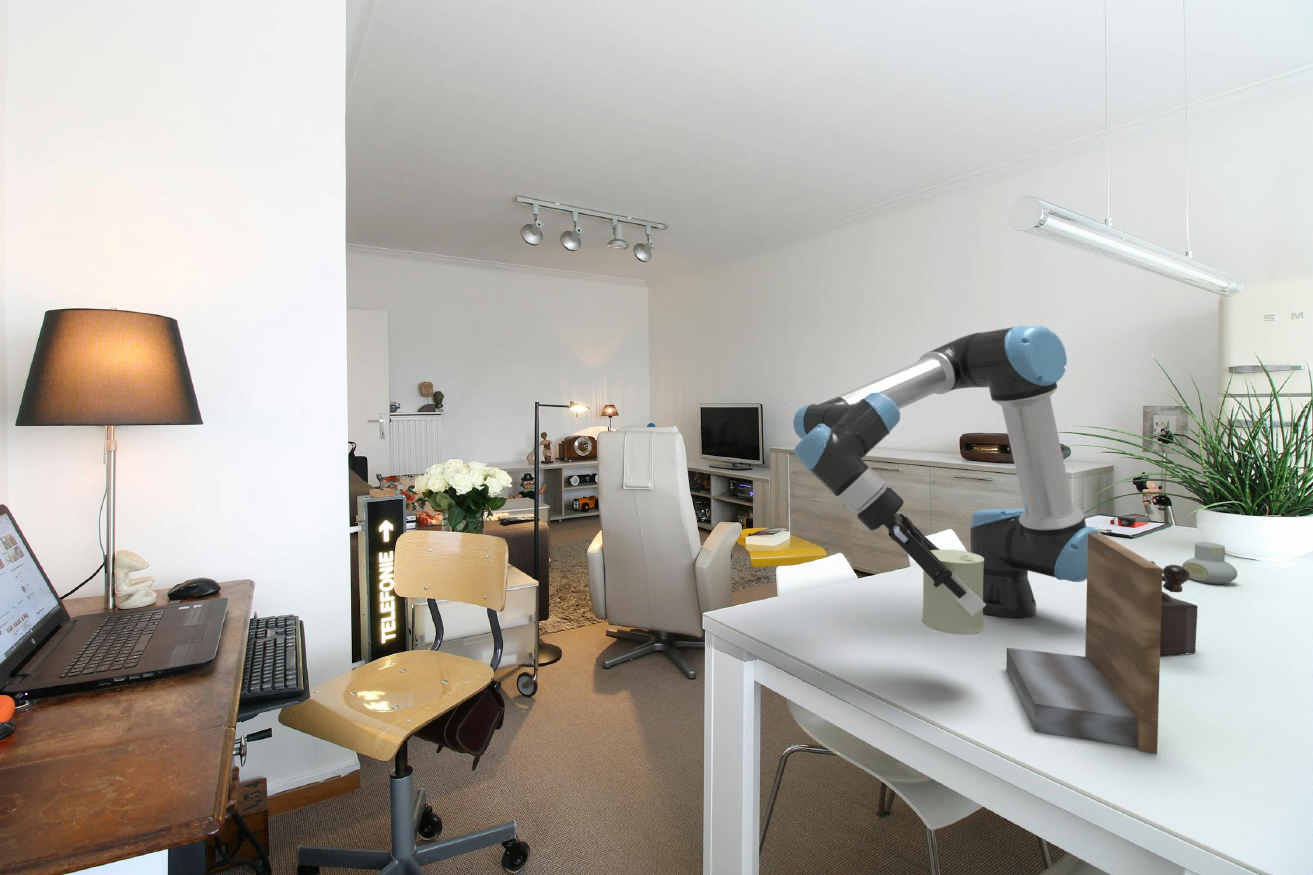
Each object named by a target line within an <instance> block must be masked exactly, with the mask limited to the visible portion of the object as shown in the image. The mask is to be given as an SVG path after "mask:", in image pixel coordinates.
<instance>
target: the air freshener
mask: <svg viewBox="0 0 1313 875" xmlns="http://www.w3.org/2000/svg"><path fill="white" fill-rule="evenodd" d="M1225 554H1226V547H1225V546H1224V544H1220V543H1214V542H1205V541H1202V542H1200V541H1199V542H1196V543H1195V544H1194V557H1192V558H1189V559H1187V560H1185V561H1184V562H1183V563H1182V565H1181V567H1183V568H1185V569H1186V570H1187V571H1188V572H1189V574H1190V578H1189V579H1192V580H1194V582H1198V583H1203V584H1208V583H1209V584H1208V585H1210V584H1211V585H1224V584H1228V583H1230V582H1231V583H1232V582H1233V581H1234V580H1236V579H1237V577H1238V570H1237V569H1236V567H1234V565H1233V564H1230V563H1229V562H1227V561H1225V560H1226V558H1225V557H1226V556H1225Z"/></svg>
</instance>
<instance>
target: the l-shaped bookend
mask: <svg viewBox="0 0 1313 875" xmlns="http://www.w3.org/2000/svg"><path fill="white" fill-rule="evenodd" d="M1150 561H1151V560H1149V559H1146V558H1144V557H1143V556H1141V555H1139V554H1138V553H1136V552H1134V551H1132V550H1131V549H1129V548H1127V547H1125V546H1123V545H1122V544H1120V543H1118V542H1117V541H1115V540H1114V539H1112V538H1110V537H1108V536H1106V535H1104V534H1103V533H1101V534H1090V533H1088V559H1087V579H1086V603H1085V604H1086V607H1085V608H1086V610H1085V614H1086V615H1085V647H1084V650H1085V652H1084V655H1085V656H1081V655H1073V654H1067V653H1066V654H1065V653H1058V652H1057V653H1056V652H1047V651H1039V650H1038V651H1036V650H1029V649H1021V648H1014V647H1013V648H1012V647H1006V673H1007V674H1008V677H1009V678H1010V680H1011V683H1012V685H1013V687H1014V690H1015V692H1016V694H1017V696H1018V698H1019V700H1020V702H1021V705H1022V706H1023V709H1024V711H1025V713H1026V716H1027V717H1028V719H1029V722H1030V724H1031V727H1032V728H1033V730H1034V732H1039V733H1045V734H1052V735H1057V736H1062V737H1063V736H1065V737H1070V738H1071V737H1072V738H1076V739H1077V738H1078V739H1085V740H1089V741H1090V740H1091V741H1097V742H1103V743H1109V744H1116V745H1123V746H1128V747H1129V746H1130V747H1134V748H1137V750H1138V751H1139V752H1144V753H1145V752H1146V753H1150V754H1151V753H1152V754H1158V744H1159V743H1158V737H1159V736H1158V735H1159V707H1160V706H1159V702H1160V699H1159V698H1160V668H1161V667H1160V666H1161V663H1160V662H1161V656H1160V640H1161V605H1162V592H1163V581H1162V575H1163V573H1162V571H1163V569H1164V568H1162V567H1160V566H1159V565H1157V564H1156V563H1155V564H1156V565H1155V564H1153V563H1152V562H1150Z"/></svg>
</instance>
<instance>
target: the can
mask: <svg viewBox="0 0 1313 875" xmlns="http://www.w3.org/2000/svg"><path fill="white" fill-rule="evenodd" d="M930 551H931V552H932V553H933V554H934V555H935V556H936V557H937V558H938V559H939V560H940V561H941V563H942V564H943V565H944V566H945V567H946V568H947V569H948V570H950V571H951V572H952V573H954V574H955V575H956V576H957V577H958V578H959V579H960V580H961V581H962V582H963V583H964V584H965V585H966V586H967V587H968V588H969V589H970V590H971V591H973V592H974V593H975V594H976V595H977V596H978V597H979V598H980V599H981V600H982V601H983V567H984V558H983V557H982V556H980V555H977V554H974V553H971V551H962V550H956V549H955V550H954V549H940V550H930ZM922 570H923V569H922ZM940 572H941V571H939V572H938V573H937V574H939V573H940ZM937 574H936V575H937ZM922 575H923V580H922V581H923V582H922V583H923V584H922V586H923V588H922V589H923V591H922V592H923V594H922V599H923V600H922V601H923V602H922V603H923V604H922V618H921V621H922V624H923V625H924V626H925V627H928V628H929V629H932V630H934V631H937V632H941V633H946V634H952V635H961V636H966V635H967V636H969V635H977V634H980V633H982V632H983V631H984V630H985V626H984V613H983V608H982V609H981V610H980V611H978V612H977V613H976V614H974V615H973V616H971V615H970V614H969V613H968V612H967V611H966V610H965V609H964V608H963V607H962V606H961V605H960V604H959V603H958V602H957V601H956V600H955V599H954V598H953V597H952V596H951V595H950V594H949V593H948V592H947V591H946V590H945V589H944V588H943V587H942V586H941V585H940V586H938V587H937V588H936V587H935V586H934V585H933V584H934V583H935V582H934V580H933V579H932V578H931V577H930V576H929V575H928V574H927V573H926V572H925V571H924V570H923V574H922Z"/></svg>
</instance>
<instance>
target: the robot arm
mask: <svg viewBox="0 0 1313 875" xmlns="http://www.w3.org/2000/svg"><path fill="white" fill-rule="evenodd" d="M1067 362H1068V359H1067V352H1066V349H1065V346H1064V344H1063V341H1062V340H1061V339H1060V337H1059V336H1058V335H1057V334H1056V332H1054V331H1052V330H1051V329H1049V328H1048V327H1045V326H1042V325H1028V326H1027V325H1019V326H1012V327H1007V328H1001V329H995V330H989V331H983V332H976V333H970V334H967V335H964V336H962V337H959V338H957V339H954V340H952V341H950V342H947V343H946V344H942V345H941V346H939V347H937V348H935V349H934V348H933V349H932V350H931V351H928V352H925V353H923V354H922V355H921V357H919V359H918V361H916V362H914V363H912V364H910V365H907V366H905V367H903V368H901V369H897V370H896V371H894V372H891V373H889V374H886V375H884V376H882V377H879V378H877V379H875V380H873V381H870V382H868V383H866V384H863V385H861V386H859V387H856V388H855V389H851V390H850V391H847V392H845V393H843V394H840V395H838V396H835V397H834V398H830V399H829V400H826V401H824V402H822V403H819V404H816V403H811V404H808V405H804V406H802V407H800V408H799V409H798V410H797V411H796V412H795V414H794V417H793V423H792V424H793V429H794V432H795V434H796V435H797V437H798V438H800V439H801V440H800V441H799V442H798V443H797V445H796V446H795V448H794V454H795V456H796V457H797V458H798V459H799V461H800V462H801V464H802V465H803V466H805V468H807V471H808V472H811V473H812V474H813V475H814V476H815V477H816V478H817V480H819V481H820V482H821V483H822V484H823V485H824V486H825V487H826V488H827V489H828V490H830V491H831V492H832V494H833V495H834V496H836V497H837V498H838V500H839V502H838V503H839V506H841V507H844V506H845V505H846V508H848V509H849V511H851V512H852V513H856V512H857V515H856V516H857V519H858V520H859V521H860V522H861V523H862V524H863V525H864V526H865V527H867V529H869V531H876V530H878V529H880V527H881V526H885V528H886V529H887V532H888V534H887V535H888V536H889V537H890V538H891V539H892V540H893V541H894V542H895V543H896V544H898V545H899V546H900V547H901V548H902V550H903V551H905V552H906V554H908V555H909V557H910V558H912V560H914V561H915V562H916V564H917V565H918V566H919V567H920V568H921V569H922V570H924V571H925V572H926V573H927V574H928V575H929V576H930V577H931V578H932V579H933V580H934V582H935V583H934V584H933V585H934V586H935V587H936V588H937V587H938V586H940V585H941V586H942V587H943V588H944V589H945V590H946V591H947V592H948V593H949V594H950V595H951V596H952V597H953V598H954V599H955V600H956V601H957V602H958V603H959V604H960V605H961V606H962V607H963V608H964V609H965V610H966V611H967V612H968V613H969V614H970V615H971V616H973V615H974V614H976V613H977V612H978V611H980V610H981V609H982V608H983V615H984V614H985V615H990V616H995V617H1003V618H1028V617H1032V616H1034V615H1036V614H1037V601H1036V599H1035V596H1034V593H1033V589H1032V587H1031V583H1030V580H1029V576H1028V575H1029V574H1028V573H1029V572H1032V573H1036V574H1040V575H1044V576H1047V577H1051V578H1055V579H1056V580H1058V581H1068V582H1073V583H1080V582H1081V583H1082V582H1084V581H1087V559H1088V533H1090V534H1102V532H1100V531H1099V530H1098V529H1096V528H1094V527H1092V526H1087V523H1086V519H1085V514H1084V512H1083V510H1081V509H1079V508H1078V507H1076V506H1074V505H1073V500H1072V494H1071V489H1070V485H1069V481H1068V476H1067V471H1066V466H1065V462H1064V457H1063V452H1062V448H1061V443H1060V439H1059V438H1060V436H1059V434H1058V432H1059V431H1058V429H1057V428H1058V427H1057V423H1056V417H1055V414H1054V410H1053V409H1054V408H1053V403H1052V399H1051V396H1052V395H1053V394H1054V393H1055V392H1056V391H1057V389H1058V385H1057V382H1059V380H1061V379H1062V377H1063V376H1064V375H1065V372H1066V368H1065V366H1067ZM969 388H989V393H990V399H991V401H992V402H994V403H996V404H998V405H999V406H1001V408H1002V413H1003V417H1004V418H1003V419H1004V422H1005V426H1006V431H1007V436H1008V440H1009V445H1010V449H1011V454H1012V458H1013V462H1014V467H1015V471H1016V476H1017V480H1018V486H1019V489H1020V493H1021V500H1022V503H1023V508H988V509H985V508H984V509H979V510H976V511H974V512H973V513H972V515H971V525H970V553H974V554H977V555H980V556H982V557H983V558H984V567H983V601H982V600H981V599H980V598H979V597H978V596H977V595H976V594H975V593H974V592H973V591H971V590H970V589H969V588H968V587H967V586H966V585H965V584H964V583H963V582H962V581H961V580H960V579H959V578H958V577H957V576H956V575H955V574H954V573H952V572H951V571H950V570H948V569H947V568H946V567H945V566H944V565H943V564H942V563H941V561H940V560H939V559H938V558H937V557H936V556H935V555H934V554H933V553H932V552H931V551H930V550H941V548H938V546H936V544H934V543H933V542H931V541H930V539H928V538H927V537H926V535H924V534H923V533H922V532H921V531H920V529H919V528H918V527H917V526H915V525H914V524H913V522H912V520H911V519H910V518H909V517H907V516H906V515H905V514H903V513H899V514H898V513H897V512H898V511H900V509H901V508H902V507H903V505H904V502H905V501H904V499H903V498H902V497H901V496H900V495H898V493H896V491H894V490H893V489H892V488H891V487H889V486H887V487H886V486H885V485H886V481H884V479H883V478H881V477H880V475H878V474H877V472H875V471H874V470H873V469H872V467H871V466H869V465H868V464H867V463H866V462H865V461H864V460H863V459H864V457H865V456H866V455H867V454H868V453H869V452H871V451H872V450H873V449H874V448H875V447H876V446H877V445H878V444H879V443H880V442H882V440H884V439H885V438H886V437H887V436H888V435H890V433H891V432H892V430H894V428H895V427H896V426H897V424H899V422H900V420H901V411H900V409H903V408H905V407H907V406H910V405H911V404H914V403H916V402H918V401H921V400H922V399H925V398H926V397H929V396H931V395H933V394H936V395H944V394H946V393H949V392H951V391H955V390H959V389H961V390H962V389H969ZM939 571H941V572H940V573H939V574H937V573H938V572H939ZM936 574H937V575H936Z"/></svg>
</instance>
